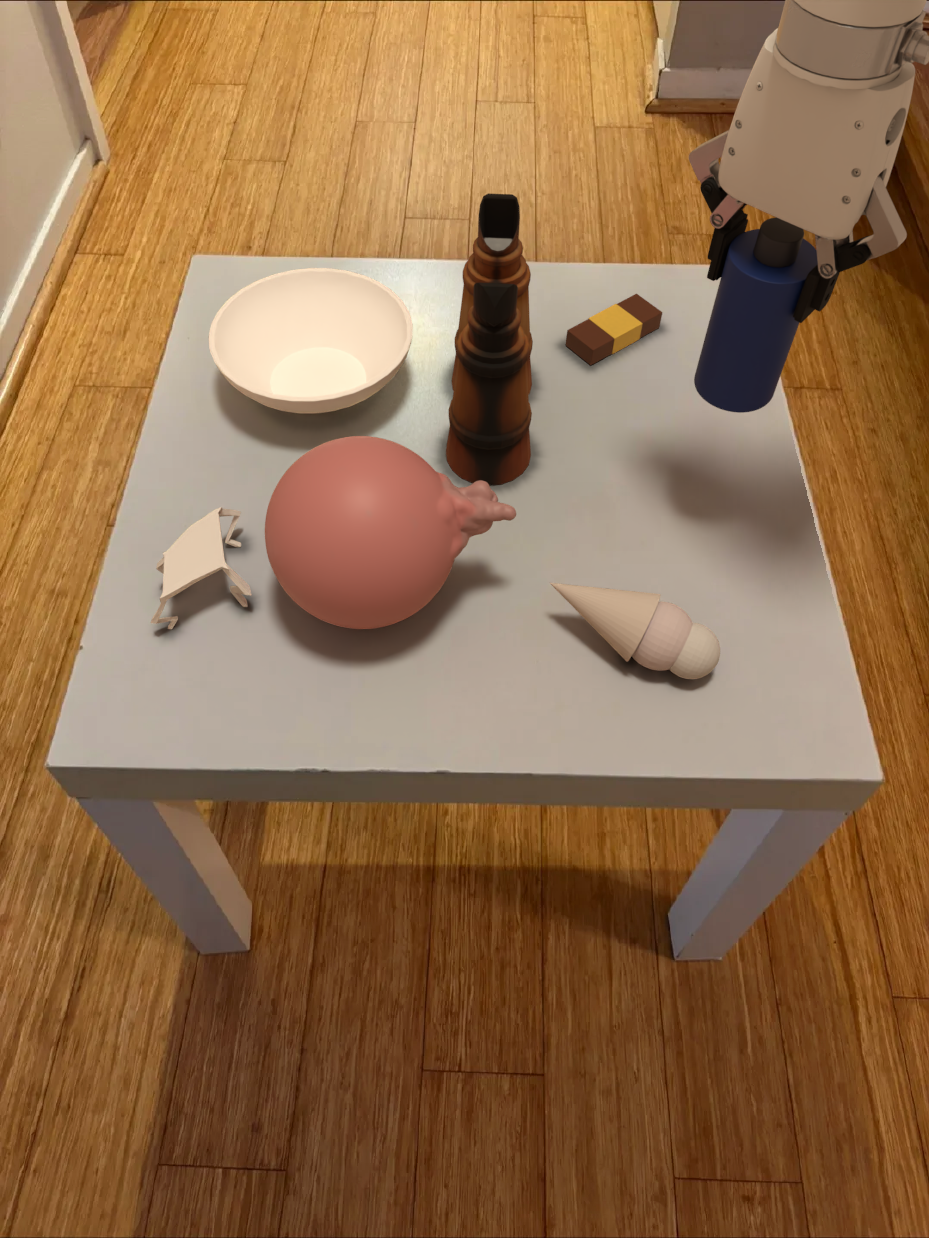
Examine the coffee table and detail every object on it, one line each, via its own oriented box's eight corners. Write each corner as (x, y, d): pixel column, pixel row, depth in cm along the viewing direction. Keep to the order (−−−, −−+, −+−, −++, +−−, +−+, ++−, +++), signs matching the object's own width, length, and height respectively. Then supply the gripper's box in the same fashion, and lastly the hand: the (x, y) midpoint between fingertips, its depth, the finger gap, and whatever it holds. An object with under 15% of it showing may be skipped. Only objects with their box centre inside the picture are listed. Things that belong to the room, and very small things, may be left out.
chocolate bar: (633, 308, 107) (636, 292, 105) (659, 328, 105) (663, 312, 104) (564, 345, 104) (566, 329, 102) (591, 366, 102) (593, 350, 100)
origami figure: (250, 640, 82) (239, 606, 78) (150, 635, 82) (135, 601, 78) (273, 530, 89) (265, 493, 85) (182, 525, 89) (169, 489, 85)
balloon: (514, 664, 81) (526, 547, 68) (271, 665, 80) (238, 548, 68) (506, 521, 90) (516, 394, 77) (287, 522, 89) (261, 394, 77)
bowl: (449, 358, 102) (448, 304, 96) (350, 481, 92) (344, 428, 87) (291, 301, 107) (282, 246, 101) (182, 411, 97) (166, 357, 92)
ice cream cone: (539, 605, 84) (699, 683, 83) (527, 624, 78) (699, 708, 77) (569, 542, 82) (733, 620, 81) (560, 557, 76) (736, 641, 75)
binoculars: (453, 353, 103) (454, 173, 86) (532, 356, 102) (548, 177, 86) (443, 483, 92) (441, 307, 76) (530, 487, 92) (547, 311, 76)
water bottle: (788, 382, 79) (846, 227, 68) (747, 424, 76) (801, 270, 65) (720, 347, 82) (765, 192, 70) (678, 388, 79) (718, 232, 67)
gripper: (1014, 57, 55) (895, 317, 70) (748, -34, 62) (690, 222, 76) (958, 109, 52) (845, 370, 67) (683, 8, 58) (635, 267, 73)
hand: (763, 289), depth 72 cm, fingers closed on water bottle, 6 cm apart
